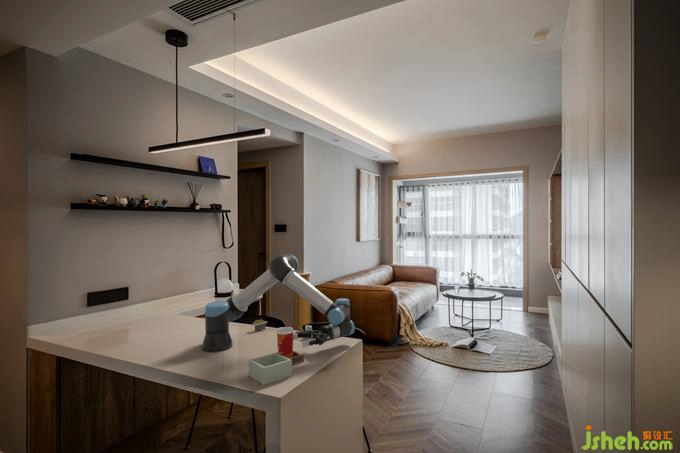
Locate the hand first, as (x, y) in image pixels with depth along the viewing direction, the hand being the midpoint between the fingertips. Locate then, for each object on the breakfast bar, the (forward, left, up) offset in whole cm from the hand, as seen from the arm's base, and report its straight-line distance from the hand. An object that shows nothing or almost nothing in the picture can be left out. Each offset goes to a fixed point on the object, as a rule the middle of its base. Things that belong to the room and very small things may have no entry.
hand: (294, 341), depth 170 cm
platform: (-60, +14, -9) cm, 62 cm away
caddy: (+9, -19, -8) cm, 22 cm away
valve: (-21, +26, -9) cm, 35 cm away
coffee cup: (-1, -5, -9) cm, 10 cm away
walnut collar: (-1, -5, -8) cm, 9 cm away
